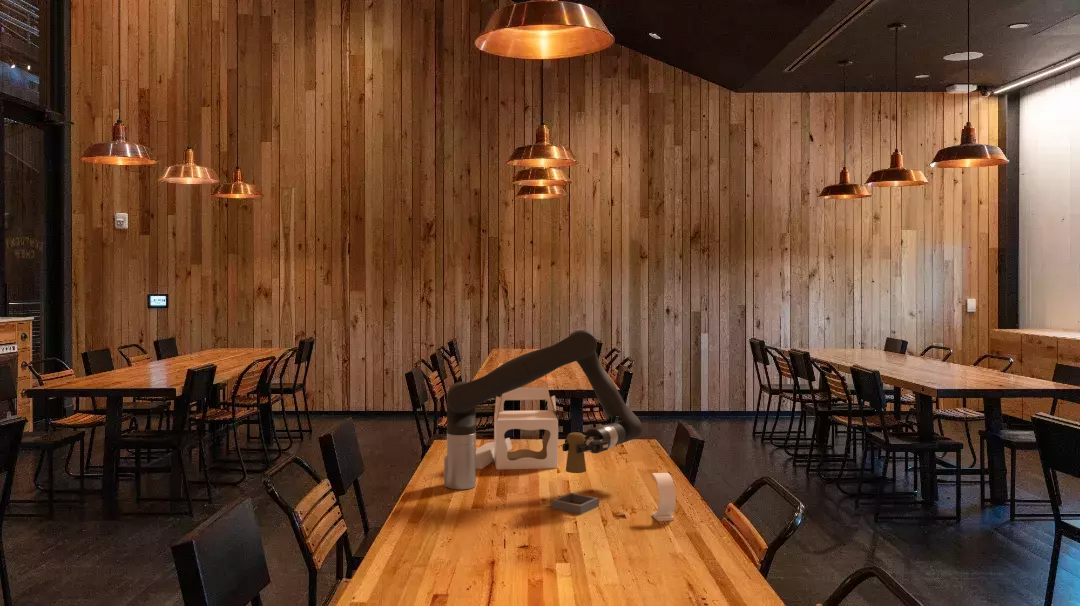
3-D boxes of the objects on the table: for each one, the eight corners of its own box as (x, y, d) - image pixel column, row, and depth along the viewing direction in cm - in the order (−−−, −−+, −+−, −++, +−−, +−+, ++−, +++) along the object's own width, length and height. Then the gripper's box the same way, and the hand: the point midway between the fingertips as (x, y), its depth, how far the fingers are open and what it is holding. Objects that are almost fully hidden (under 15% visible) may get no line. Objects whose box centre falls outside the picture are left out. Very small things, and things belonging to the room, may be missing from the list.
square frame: (551, 508, 214) (551, 500, 214) (570, 500, 222) (570, 492, 222) (580, 514, 208) (581, 506, 208) (599, 505, 216) (599, 498, 216)
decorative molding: (457, 475, 263) (482, 469, 260) (453, 462, 263) (479, 456, 260) (489, 454, 295) (512, 449, 293) (486, 443, 296) (509, 437, 293)
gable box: (553, 459, 275) (553, 384, 274) (558, 468, 262) (558, 389, 261) (493, 461, 272) (493, 385, 272) (495, 469, 259) (496, 390, 259)
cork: (564, 468, 218) (564, 430, 217) (584, 467, 218) (584, 430, 218) (566, 473, 212) (566, 435, 211) (587, 472, 212) (587, 434, 212)
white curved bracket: (667, 514, 208) (667, 472, 208) (675, 521, 202) (675, 477, 202) (651, 515, 207) (652, 473, 207) (659, 522, 201) (660, 478, 201)
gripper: (581, 423, 230) (550, 432, 216) (621, 429, 222) (591, 438, 208) (581, 447, 231) (550, 458, 217) (621, 453, 223) (591, 465, 208)
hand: (570, 448), depth 213 cm, fingers closed on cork, 4 cm apart
